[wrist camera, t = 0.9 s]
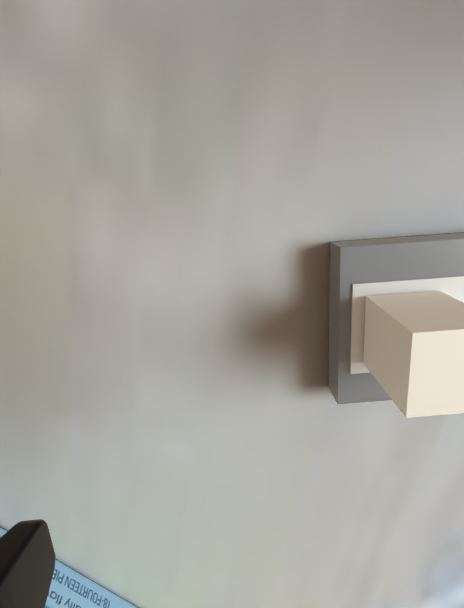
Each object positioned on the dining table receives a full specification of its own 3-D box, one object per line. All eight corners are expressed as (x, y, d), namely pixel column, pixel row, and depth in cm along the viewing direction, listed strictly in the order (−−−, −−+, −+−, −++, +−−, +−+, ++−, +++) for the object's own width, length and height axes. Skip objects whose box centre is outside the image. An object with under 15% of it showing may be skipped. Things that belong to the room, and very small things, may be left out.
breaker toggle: (439, 290, 16) (509, 325, 12) (433, 358, 17) (495, 410, 13) (366, 296, 16) (412, 333, 12) (363, 363, 17) (406, 417, 13)
